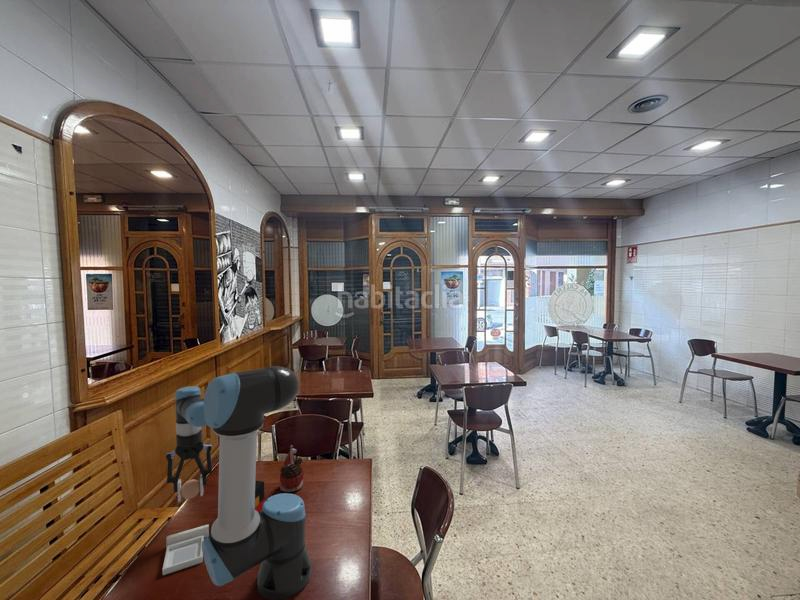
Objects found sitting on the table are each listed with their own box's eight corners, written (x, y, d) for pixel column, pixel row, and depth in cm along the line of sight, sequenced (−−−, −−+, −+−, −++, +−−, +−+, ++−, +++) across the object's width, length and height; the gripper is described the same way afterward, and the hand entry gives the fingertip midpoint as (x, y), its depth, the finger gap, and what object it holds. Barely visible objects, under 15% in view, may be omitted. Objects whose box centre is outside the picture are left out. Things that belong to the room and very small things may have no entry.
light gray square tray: (202, 562, 104) (202, 556, 104) (162, 575, 100) (162, 569, 99) (203, 540, 113) (203, 535, 113) (167, 551, 109) (167, 546, 108)
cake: (289, 496, 137) (289, 453, 136) (274, 489, 141) (273, 448, 141) (309, 483, 146) (308, 443, 145) (293, 477, 151) (293, 438, 150)
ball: (200, 499, 117) (200, 482, 116) (179, 504, 114) (179, 487, 113) (201, 490, 122) (201, 474, 122) (181, 495, 119) (181, 478, 119)
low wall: (208, 536, 115) (208, 526, 115) (166, 549, 109) (166, 538, 109) (208, 533, 116) (208, 524, 116) (167, 546, 111) (166, 536, 110)
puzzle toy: (248, 524, 121) (247, 497, 121) (223, 520, 123) (223, 494, 122) (264, 506, 131) (264, 481, 130) (241, 503, 133) (241, 478, 132)
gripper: (219, 422, 125) (221, 483, 125) (157, 433, 116) (159, 498, 117) (219, 430, 118) (221, 494, 119) (153, 442, 109) (156, 511, 110)
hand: (190, 496), depth 118 cm, fingers closed on ball, 6 cm apart
